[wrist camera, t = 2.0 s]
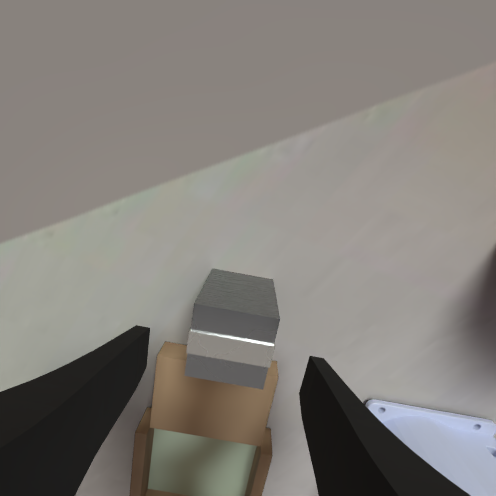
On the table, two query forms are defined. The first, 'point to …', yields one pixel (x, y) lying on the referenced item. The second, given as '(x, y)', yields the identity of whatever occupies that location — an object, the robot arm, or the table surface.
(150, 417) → the open brown wooden box
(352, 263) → the table surface
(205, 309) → the metal block
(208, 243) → the table surface
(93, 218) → the table surface
